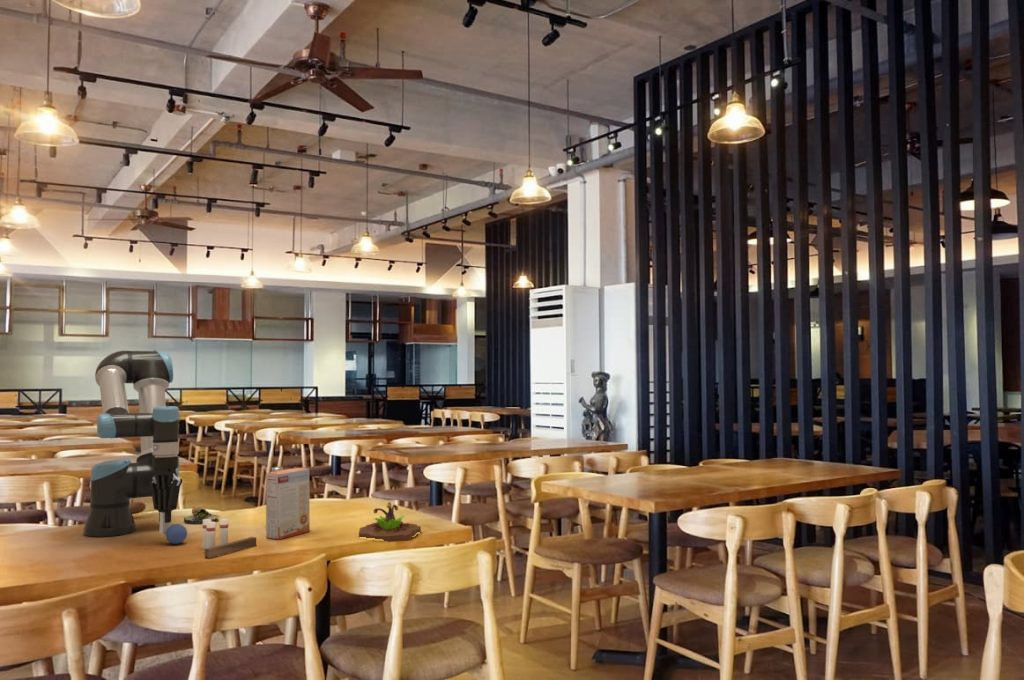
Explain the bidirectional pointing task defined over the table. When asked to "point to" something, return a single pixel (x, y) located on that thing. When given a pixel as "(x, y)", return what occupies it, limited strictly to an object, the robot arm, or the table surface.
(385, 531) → the plant
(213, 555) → the back rail
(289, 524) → the cracker box
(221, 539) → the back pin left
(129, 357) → the robot arm
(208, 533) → the back pin right
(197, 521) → the dish garden
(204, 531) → the front pin
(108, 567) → the table surface
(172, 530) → the ball
